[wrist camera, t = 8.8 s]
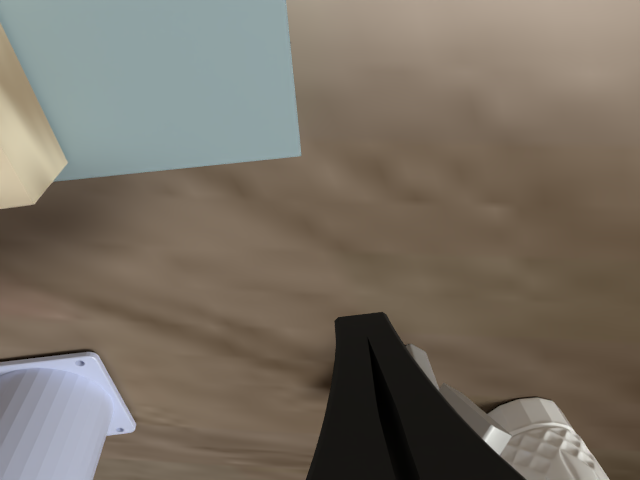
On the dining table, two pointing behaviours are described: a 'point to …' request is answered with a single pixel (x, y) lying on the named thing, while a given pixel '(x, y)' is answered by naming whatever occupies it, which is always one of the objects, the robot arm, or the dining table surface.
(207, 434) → the dining table surface
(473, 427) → the lighter
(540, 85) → the dining table surface
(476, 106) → the dining table surface
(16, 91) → the folding leg
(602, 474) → the white cup
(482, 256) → the dining table surface
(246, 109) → the blue-grey block
